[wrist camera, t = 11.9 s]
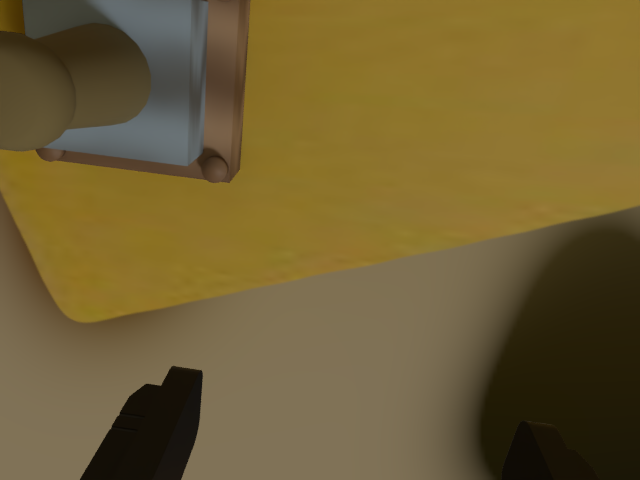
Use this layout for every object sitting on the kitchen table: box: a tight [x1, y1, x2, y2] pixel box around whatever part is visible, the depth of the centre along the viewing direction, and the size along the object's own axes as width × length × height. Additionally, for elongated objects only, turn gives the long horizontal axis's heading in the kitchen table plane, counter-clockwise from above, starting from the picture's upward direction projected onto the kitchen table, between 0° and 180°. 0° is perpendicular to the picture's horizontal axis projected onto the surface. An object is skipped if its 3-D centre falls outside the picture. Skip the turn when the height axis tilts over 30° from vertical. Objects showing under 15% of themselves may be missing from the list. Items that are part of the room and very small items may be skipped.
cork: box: [0, 23, 151, 151], centre depth 27 cm, size 6×6×11 cm
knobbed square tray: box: [22, 0, 250, 183], centre depth 36 cm, size 14×14×8 cm
